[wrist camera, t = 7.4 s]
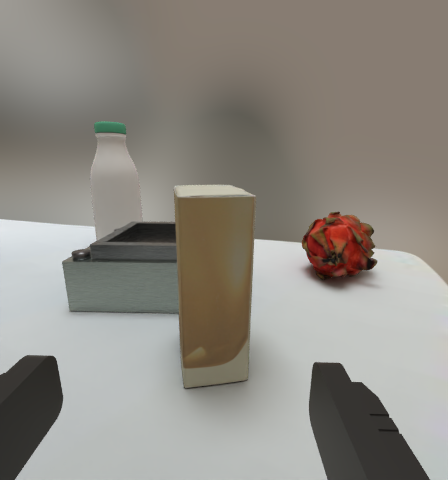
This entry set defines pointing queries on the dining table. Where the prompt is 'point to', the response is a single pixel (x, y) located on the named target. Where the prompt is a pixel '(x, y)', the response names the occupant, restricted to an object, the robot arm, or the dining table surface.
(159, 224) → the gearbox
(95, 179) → the milk bottle
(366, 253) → the dragon fruit
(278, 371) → the dining table surface
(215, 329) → the skincare box
